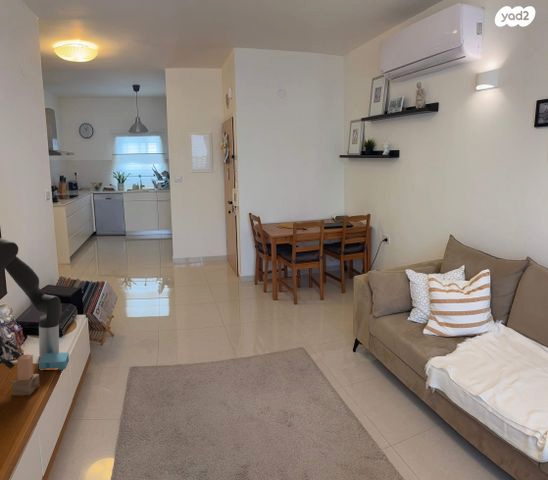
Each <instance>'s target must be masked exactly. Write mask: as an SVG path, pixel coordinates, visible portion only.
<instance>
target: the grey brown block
mask: <svg viewBox="0 0 548 480" xmlns="http://www.w3.org/2000/svg"><path fill="white" fill-rule="evenodd" d="M11 385H12V386H11V389H12V396H24V395H28V397H29V396H30V395H31V394H33V392H35V391H36V390H37V389H38V388H39V387H38V385H39V386H40V374H39V373H33V377H32V378H31V379H30V380H25V381H18V377H17V378H15V380H13V381H12V383H11ZM37 387H38V388H37ZM36 388H37V389H36ZM35 389H36V390H35ZM34 390H35V391H34Z"/></svg>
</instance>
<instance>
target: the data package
mask: <svg viewBox="0 0 548 480" xmlns="http://www.w3.org/2000/svg"><path fill="white" fill-rule="evenodd" d="M69 355H70V353H69V352H59V353H46V354H43V356H42V358H41V359H40V358H39V359H40V360H39V361H38V370H39V369H46V368H59V370H58V371H64V370H66V369H67V366H68V363H69V359H70V357H69Z"/></svg>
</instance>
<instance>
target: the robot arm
mask: <svg viewBox="0 0 548 480" xmlns="http://www.w3.org/2000/svg"><path fill="white" fill-rule="evenodd" d="M18 253H19V246H18V244H17V243H15V242H14V241H12V240H9V239H6V238H3V237H0V273H1V272H2V271H3V270H5V271H6V272H7V273H8V275H9V276H10V277H11V278H12V280H13V281H14V282H15V283H16V285H17V286H18V287H19V288H20V289H21V290H22V292H24V294H25V295H26V296H27V297H28V298H29V300H30V301H31V302H30V303H31V304H32V305H33V306H34V307H33V308H35V310H36V311H38V312H40V313H45V314H46V317H44V318H42V319H40V320H39V322H38V337H39V339H38V344H39V345H38V346H39V347H38V349H39V350H38V352H39V353H38V354H39V359H41V358H42V356H43V354H46V353H60V342H59V341H60V332H59V331H60V330H59V329H60V324H59V322H60V319H61V298H59V297H58V296H57V295H52V294H46V293H45V292H43V291H42V289H41V288H40V278H39V276H38V274H37V273H36V272H35V271H34V270H33V268H31V266H29V265H28V263H26V262H24V261H23V260H21V259H20V258H19V257H18V256H17V255H18ZM18 349H19V348H18V347H17V346H16V345H14V344H13V343H12V342H11V341H10V340H9V339H8V340H5V342H4V337H3V336H2V335H0V365H4V366H6V367H7V368H8V369H10V370H12V369H13V367H15V364H14V363H13V361H11V360H9V358H8V357H7V356H8V355H10V356H12V357H13V358H14V359H15V360H17V359H18V358H19V357H20V356H21V355H22V354H20V353H19V352H18Z"/></svg>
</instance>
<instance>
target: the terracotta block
mask: <svg viewBox="0 0 548 480" xmlns="http://www.w3.org/2000/svg"><path fill="white" fill-rule="evenodd" d="M20 355H21V356H20V357H19V358H18V359H16V361H17V366H16V367H17V378H18V381H25V380H30V379H31V378H32V377H33V374H34V358H33V357H34V355H33V354H20Z"/></svg>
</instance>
